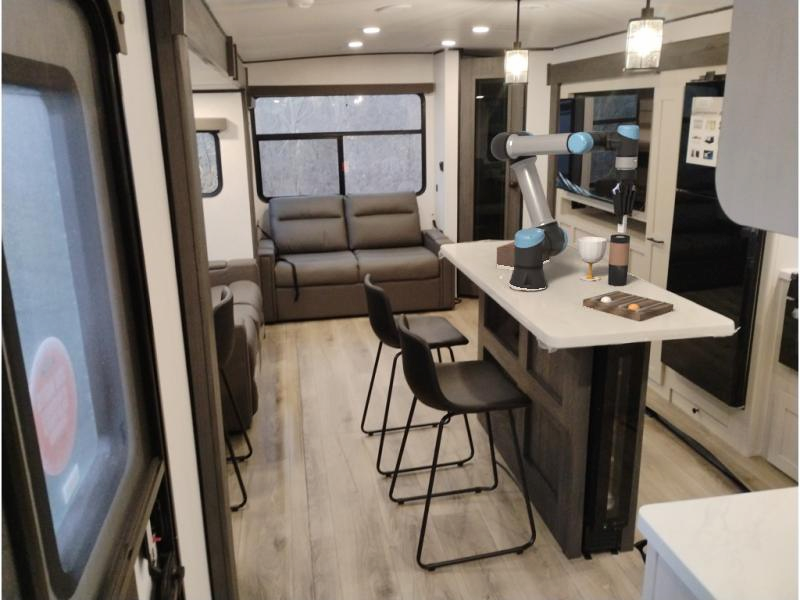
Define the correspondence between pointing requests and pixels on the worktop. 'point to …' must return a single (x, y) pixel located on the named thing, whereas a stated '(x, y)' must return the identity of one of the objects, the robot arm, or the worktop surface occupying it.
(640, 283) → the worktop surface
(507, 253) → the tissue box cover
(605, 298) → the cream ball
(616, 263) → the travel mug
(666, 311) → the hole deck
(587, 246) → the cup
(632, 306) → the orange ball
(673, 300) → the worktop surface
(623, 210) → the robot arm
